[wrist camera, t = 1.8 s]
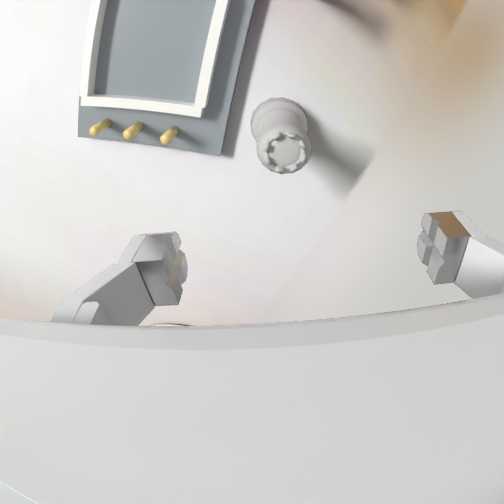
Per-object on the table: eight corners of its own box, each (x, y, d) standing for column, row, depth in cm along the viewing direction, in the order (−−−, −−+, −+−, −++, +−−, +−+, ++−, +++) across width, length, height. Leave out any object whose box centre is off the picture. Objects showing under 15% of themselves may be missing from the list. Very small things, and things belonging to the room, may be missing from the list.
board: (221, 152, 25) (215, 167, 22) (83, 133, 24) (63, 146, 21) (260, -19, 16) (260, -31, 13) (103, -25, 15) (83, -31, 12)
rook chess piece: (243, 105, 23) (234, 128, 16) (298, 90, 22) (313, 107, 15) (260, 154, 25) (259, 197, 19) (312, 141, 24) (331, 179, 18)
